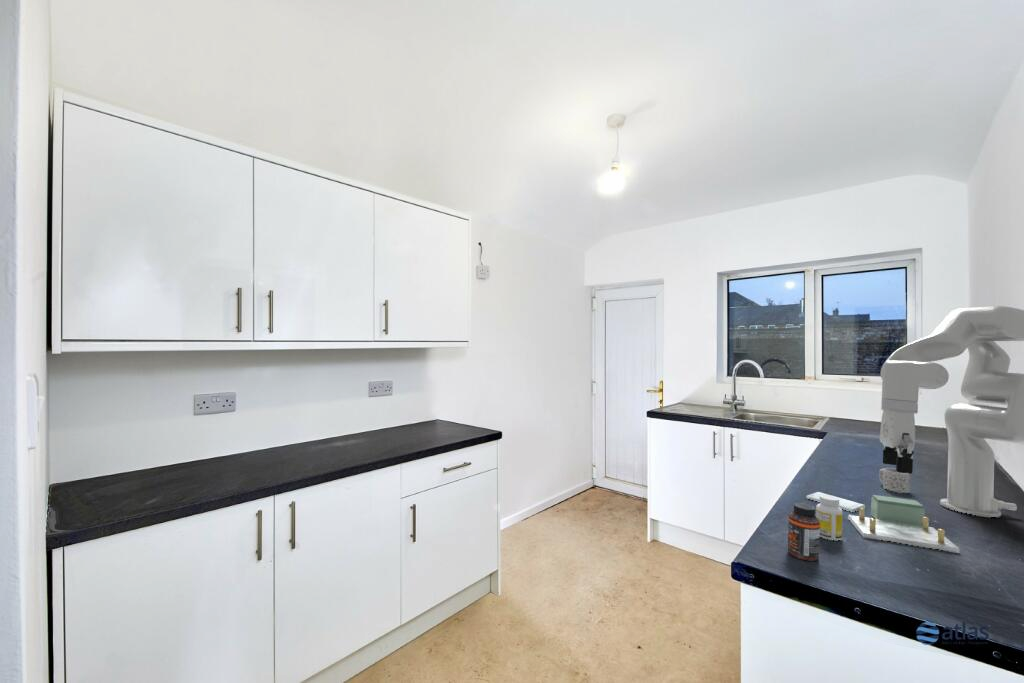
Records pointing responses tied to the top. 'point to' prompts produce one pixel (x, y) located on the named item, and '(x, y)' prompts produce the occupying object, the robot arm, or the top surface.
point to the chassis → (902, 532)
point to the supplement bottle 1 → (803, 532)
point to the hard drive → (843, 503)
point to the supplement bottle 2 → (830, 518)
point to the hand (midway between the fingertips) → (896, 468)
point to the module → (897, 510)
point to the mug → (894, 480)
